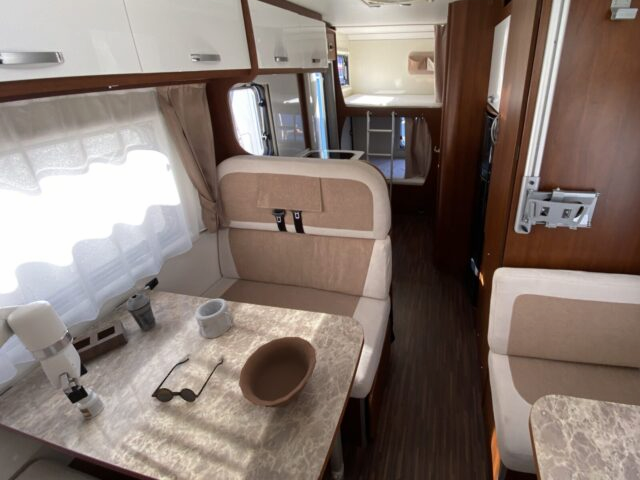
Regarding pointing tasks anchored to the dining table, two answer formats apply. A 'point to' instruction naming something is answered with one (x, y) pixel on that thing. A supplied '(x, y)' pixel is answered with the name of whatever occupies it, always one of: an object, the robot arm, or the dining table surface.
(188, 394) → the eyeglasses
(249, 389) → the bowl
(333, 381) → the dining table surface
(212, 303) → the mug
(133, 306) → the beverage cup
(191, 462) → the dining table surface
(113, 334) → the holder
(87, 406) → the pill bottle
